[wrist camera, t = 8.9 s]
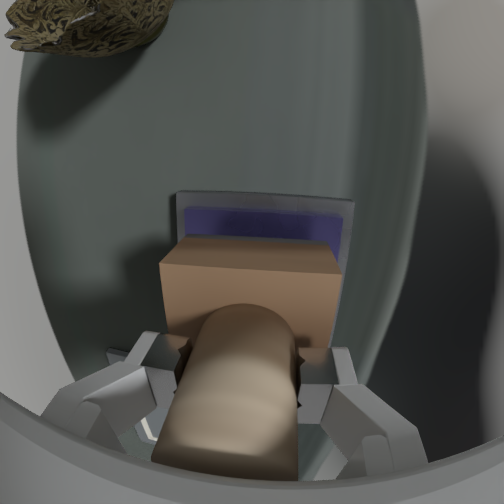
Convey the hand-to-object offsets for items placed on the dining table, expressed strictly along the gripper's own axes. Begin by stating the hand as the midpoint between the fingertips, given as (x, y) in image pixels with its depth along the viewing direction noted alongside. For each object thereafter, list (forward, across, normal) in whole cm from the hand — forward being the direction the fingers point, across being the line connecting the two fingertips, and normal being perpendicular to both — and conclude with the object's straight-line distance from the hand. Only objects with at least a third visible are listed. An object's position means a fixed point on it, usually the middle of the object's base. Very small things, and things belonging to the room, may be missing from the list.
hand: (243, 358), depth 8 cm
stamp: (+4, 0, 0) cm, 4 cm away
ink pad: (+8, 0, +1) cm, 8 cm away
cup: (+8, +7, -14) cm, 18 cm away
